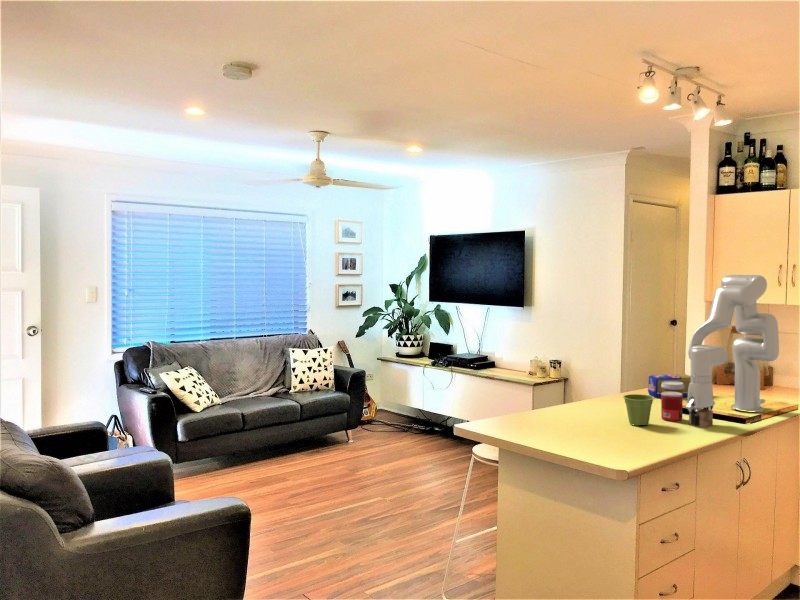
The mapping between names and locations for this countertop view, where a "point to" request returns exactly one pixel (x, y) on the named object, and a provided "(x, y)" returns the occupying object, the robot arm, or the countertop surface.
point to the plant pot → (638, 408)
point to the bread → (657, 380)
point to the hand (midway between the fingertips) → (700, 423)
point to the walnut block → (703, 418)
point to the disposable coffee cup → (672, 386)
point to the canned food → (671, 406)
